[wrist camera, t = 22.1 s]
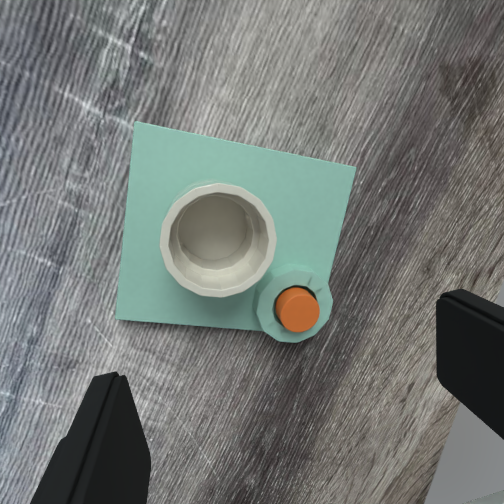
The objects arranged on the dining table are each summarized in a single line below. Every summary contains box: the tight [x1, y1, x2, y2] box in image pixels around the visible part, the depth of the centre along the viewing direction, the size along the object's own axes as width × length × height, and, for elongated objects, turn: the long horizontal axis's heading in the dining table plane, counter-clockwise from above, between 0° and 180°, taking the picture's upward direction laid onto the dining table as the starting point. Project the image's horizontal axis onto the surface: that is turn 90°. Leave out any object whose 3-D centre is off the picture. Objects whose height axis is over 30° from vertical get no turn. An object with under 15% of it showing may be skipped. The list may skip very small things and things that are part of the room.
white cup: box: [159, 179, 277, 298], centre depth 22 cm, size 7×7×6 cm
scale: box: [115, 121, 356, 343], centre depth 25 cm, size 16×14×3 cm
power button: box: [275, 288, 320, 332], centre depth 25 cm, size 3×3×2 cm
